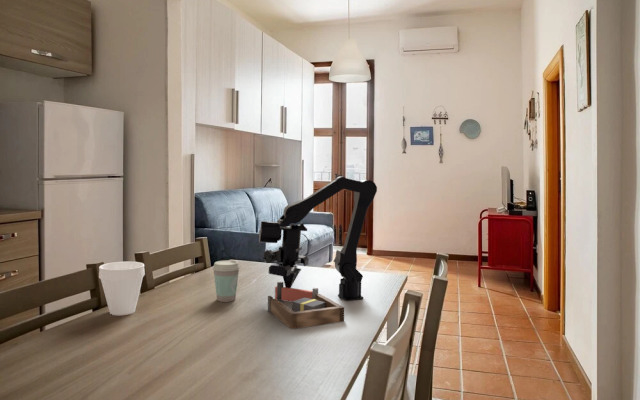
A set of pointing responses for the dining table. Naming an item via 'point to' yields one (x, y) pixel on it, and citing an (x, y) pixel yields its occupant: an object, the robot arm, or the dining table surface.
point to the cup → (121, 285)
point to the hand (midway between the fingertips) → (287, 290)
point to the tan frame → (307, 313)
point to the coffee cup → (226, 279)
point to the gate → (293, 293)
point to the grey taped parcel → (307, 304)
